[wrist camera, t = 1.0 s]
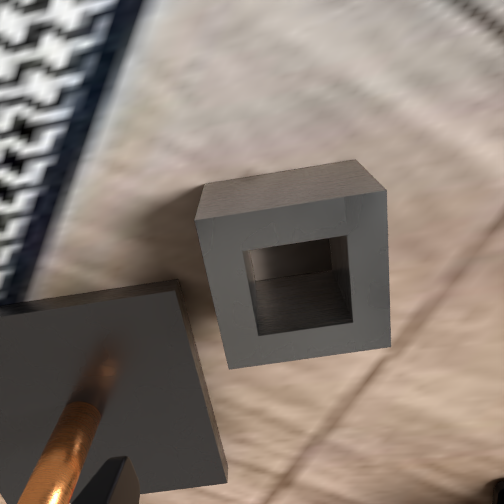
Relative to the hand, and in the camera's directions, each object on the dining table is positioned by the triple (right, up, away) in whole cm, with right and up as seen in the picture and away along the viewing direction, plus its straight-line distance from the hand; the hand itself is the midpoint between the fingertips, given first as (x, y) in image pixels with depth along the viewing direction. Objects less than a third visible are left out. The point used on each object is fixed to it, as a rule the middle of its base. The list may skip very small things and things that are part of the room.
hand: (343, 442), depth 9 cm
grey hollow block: (0, +4, +9) cm, 10 cm away
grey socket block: (-10, -4, +13) cm, 17 cm away
